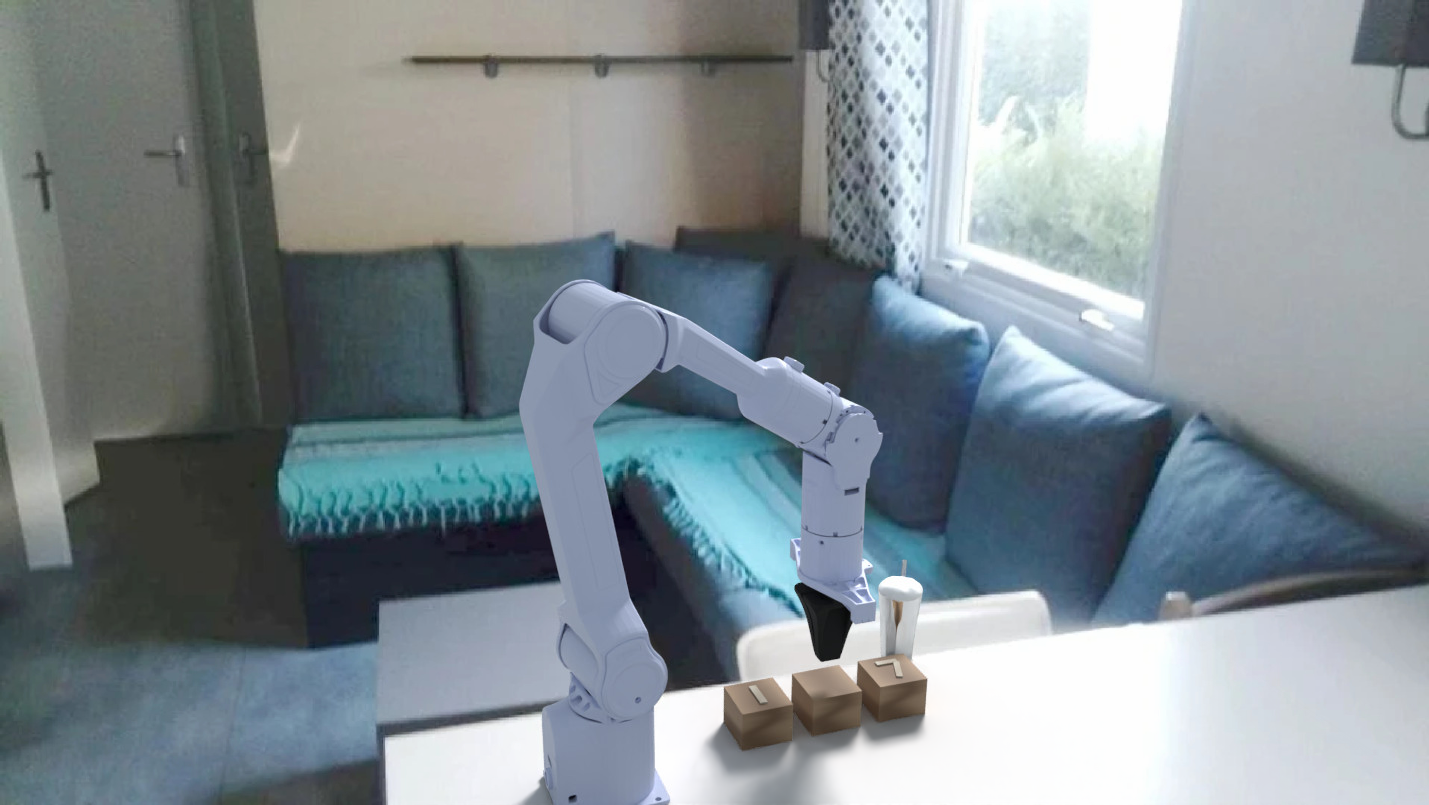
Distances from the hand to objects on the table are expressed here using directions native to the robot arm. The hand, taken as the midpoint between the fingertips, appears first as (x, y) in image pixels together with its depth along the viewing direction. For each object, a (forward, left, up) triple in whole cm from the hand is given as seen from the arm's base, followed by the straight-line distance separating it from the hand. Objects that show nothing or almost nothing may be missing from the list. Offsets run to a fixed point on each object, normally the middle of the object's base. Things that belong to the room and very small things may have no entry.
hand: (827, 657), depth 109 cm
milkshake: (+12, +8, -7) cm, 16 cm away
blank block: (0, 0, -7) cm, 7 cm away
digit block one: (-7, 0, -7) cm, 10 cm away
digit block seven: (+7, 0, -7) cm, 10 cm away
